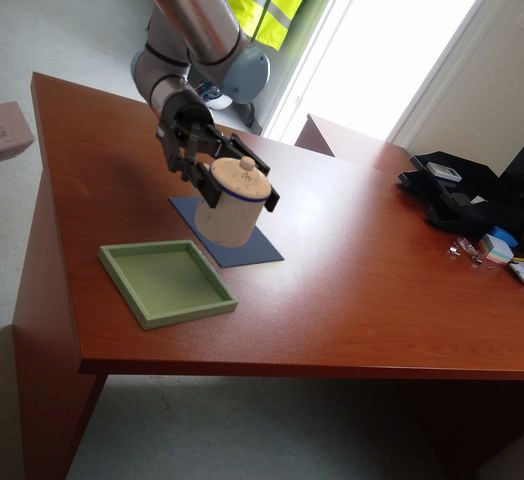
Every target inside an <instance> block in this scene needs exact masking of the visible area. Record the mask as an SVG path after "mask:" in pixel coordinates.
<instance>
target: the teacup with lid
mask: <svg viewBox="0 0 524 480" xmlns="http://www.w3.org/2000/svg"><path fill="white" fill-rule="evenodd" d="M202 163H203V164H204V166H205V167H206V168H207V170H208V171H209V173H210V174H211V176H212V177H213V178H214V180H215V181H216V183H217V184H218V186H219V187H220V189H221V190H222V193H221V196H220V199H219V201H218V204H217V206H216V209H212V208H210V207H209V205H208V204H207V202H206V201H205V199H204V198H203V196H202V195H201V193H200V192H199V190H198V189H197V188H195V187H194V186H193V185H192V183H191V182H190V185H191V189H192V191H193V193H194V194H195V195H196V197H199V198H200V202H199V205H198V208H197V211H196V214H195V217H194V223H195V226H196V228H197V229H198V231H199V232H200V233H201V234H202V235H203V236H204V237H205V238H207V239H208V240H210V241H211V242H213V243H215V244H218V245H221V246H224V247H240V246H242V245H244V244H245V243H246V242H247V241H248V239H249V237H250V235H251V232H252V230H253V228H254V226H255V225H256V224H257V221H258V219H259V218H260V216H261V213H262V211H263V208H264V204H265V202H266V200H267V199H268V198H269V197H270V195H271V185H272V184H271V185H270V183H271V182H270V181H269V178H268V177H267V178H266V176H265V175H264V174H263V173H262V172H260V171H259V170H258V169H256V168H255V167H254V166H255V162H254V160H253V159H251V158H250V157H246V156H244V157H242V158H241V160H237V159H233V158H220V159H217V160H215V159H214V161H213V162H212V163H211V164H210V165H209V164H208V163H205V162H202Z"/></svg>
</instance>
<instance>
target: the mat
mask: <svg viewBox="0 0 524 480" xmlns="http://www.w3.org/2000/svg"><path fill="white" fill-rule="evenodd" d="M167 199H168V201H169V202H170V204H171V205H172V206H173V207H174V209H175V210H176V211H177V213H178V214H179V215H180V217H181V218H182V219H183V221H184V222H185V223H186V224H187V225H188V227H189V229H190V230H191V231H192V232H193V234H194V235H195V236H196V237H197V239H198V240H199V241H200V242H201V244H202V245H203V246H204V248H205V249H206V250H207V252H208V253H209V254H210V256H212V258H213V260H214V261H215V262H216V264H218V266H219V267H220V269H226V268H233V267H241V266H250V265H257V264H264V263H272V262H279V261H281V262H282V261H285V258H284V256H283V255H282V254H281V253H280V252H279V250H278V249H277V248H276V247H275V245H274V244H273V243H271V241H270V240H269V238H267V236H266V235H265V234H264V233H263V232H262V230H261V229H260V228H259V227H258V226H257V225H256V224H255V226H254V228H253V230H252V232H251V235H250V237H249V239H248V241H247V242H246V243H245V244H244V245H242V246H240V247H224V246H221V245H218V244H215V243H213V242H211V241H210V240H208V239H207V238H205V237H204V236H203V235H202V234H201V233H200V232H199V231H198V229H197V228H196V226H195V223H194V217H195V214H196V211H197V208H198V205H199V202H200V198H199V197H198V196H183V197H182V196H168V197H167Z"/></svg>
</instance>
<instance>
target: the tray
mask: <svg viewBox="0 0 524 480" xmlns="http://www.w3.org/2000/svg"><path fill="white" fill-rule="evenodd" d="M97 258H98V259H99V261H100V262H101V264H102V265H103V267H104V269H105V271H106V272H107V274H108V275H109V277H110V279H111V280H112V281H113V283H114V285H115V286H116V288H117V289H118V291H119V292H120V294H121V296H122V298H123V299H124V301H125V302H126V304H127V306H128V307H129V308H130V310H131V312H132V313H133V315H134V316H135V318H136V320H137V321H138V323H139V325H140V326H141V328H142V329H143V330H144V331H145V330H151V329H155V328H160V327H161V328H162V327H166V326H169V325H175V324H178V323H185V322H188V321H194V320H199V319H203V318H208V317H213V316H217V315H221V314H226V313H232V312H235V311H236V309H237V307H238V305H239V301H238V299H237V298H236V297H235V296H234V294H233V293H232V292H231V290H230V289H229V288H228V286H227V285H226V283H225V282H224V281H223V280H222V278H221V277H220V275H218V273H217V272H216V270H215V269H214V267H213V266H212V265H211V264H210V262H209V261H208V259H207V258H206V257H205V256H204V254H203V253H202V252H201V250H200V249H199V248H198V247H197V245H196V244H195V243H194V241H193V239H178V240H165V241H151V242H149V241H148V242H138V243H124V244H123V243H122V244H110V245H109V244H108V245H100V246H99V249H98V253H97Z"/></svg>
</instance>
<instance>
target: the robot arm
mask: <svg viewBox="0 0 524 480" xmlns="http://www.w3.org/2000/svg"><path fill="white" fill-rule="evenodd" d="M151 12H152V13H151V16H150V22H149V26H148V32H147V37H146V40H145V44H144V46H143V47H141V48H139V49H138V50H137V52H136V53H135V54H134V56H133V57H132V59H131V62H130V75H131V79H132V81H133V84H134V85H135V88H136V89H137V92H138V94H139V95H140V97H142V99H143V100H144V101H145V102H146V103H147V104H148V106H149V108H150V109H151V111H152V112H153V115H154V116H155V117H156V119H157V121H158V124H157V128H156V131H155V138H156V139H157V141H158V142H159V143H160V145H161V148H162V152H163V155H164V159H165V164H166V166H167V169H168V171H169V172H170V173H173V174H177V173H178V172H179V173H180V172H181V174H180V177H179V178H180V180H181V181H182V182H183V183H188V182H190V184H191V183H192V185H193V186H194V187H195V188H197V189H198V190H199V192H200V193H201V195H202V196H203V198H204V199H205V201H206V202H207V204H208V205H209V207H210V208H212V209H216V206H217V204H218V201H219V199H220V196H221V193H222V190H221V189H220V187H219V186H218V184H217V183H216V181H215V180H214V178H213V177H212V176H211V174H210V173H209V171H208V170H207V168H206V167H205V166H204V164H205V163H204V162H203V161H196V160H197V154H205V155H208V156H209V157H211V158H212V159H213V160H214V161H215V160H217V159H220V158H233V159H237V160H241V158H242V157H244V156H246V157H250V158H251V159H253V160H254V162H255V166H254V167H255V168H256V169H258V170H259V171H260V172H262V173H263V174H264V175H265V176H266V178H267V179H268V176H269V174H270V171H271V167H270V166H269V165H268V164H267V163H266V162H265V161H263V160H262V159H261V158H260V157H259V156H258V155H257V154H256V153H255V152H254V151H253V150H251V149H250V148H249V146H247V145H246V144H245V143H244V142H243V141H242V140H241V138H240V136H239V135H238V134H237V133H234V132H232V133H231V134H230V136H227V135H224V134H223V131H221V130H219V129H218V128H217V127H216V125H215V124H216V123H215V118H214V115H213V113H212V110H211V109H210V108H209V106H208V105H207V104H206V103H205V101H204V100H203V99H202V97H201V96H200V95H199V94H198V93H197V91H196V90H195V89H194V88H193V87H192V85H191V83H190V82H189V81H188V79H187V78H188V75H189V71H190V68H191V66H192V67H193V68H194V69H196V70H197V71H198V72H200V74H202V75H203V76H204V77H205V78H206V79H207V80H208V81H209V82H211V83H212V84H213V85H214V86H215V87H216V88H218V90H219V91H221V93H222V94H223V96H227V97H228V98H229V99H231V101H232V102H234V103H236V104H239V105H245V104H246V105H247V104H249V103H251V102H253V101H254V100H255V99H257V98H258V97H259V95H260V94H261V92H263V90H264V89H265V87H266V85H267V83H268V80H269V77H270V71H271V70H270V61H269V59H268V56H267V55H266V54H265V53H264V52H263V51H262V50H261V49H260V47H259V46H258V45H257V44H256V43H253V42H252V41H250V39H249V38H248V37H247V36H246V34H245V32H244V30H243V28H242V26H241V24H240V22H239V20H238V18H237V17H236V16H235V12H234V11H233V9H232V7H231V5H230V4H229V1H228V0H153V7H152V11H151ZM180 148H181V149H183V156H182V151H181V149H180ZM203 163H204V164H203ZM192 185H191V186H192ZM270 185H271V195H270V197H269V198H268V199H267V200H266V202H265V204H264V206H263V208H265V210H266V211H267V213H274V210H275V209H276V207H277V205H278V202H279V201H280V199H281V196H280V194H279V193H278V192H277V190H276V188H274V187H273V184H272V183H271V182H270Z"/></svg>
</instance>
